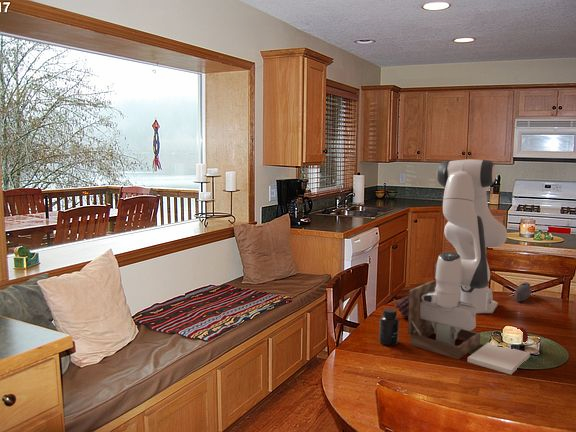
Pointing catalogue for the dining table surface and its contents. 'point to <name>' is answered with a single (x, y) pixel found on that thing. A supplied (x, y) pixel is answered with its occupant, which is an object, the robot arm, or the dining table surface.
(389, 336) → the supplement bottle
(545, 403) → the dining table surface
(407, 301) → the pine cone
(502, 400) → the dining table surface
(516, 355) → the cutting board
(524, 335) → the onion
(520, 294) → the perforated stone tool
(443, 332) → the block
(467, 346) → the walnut box
